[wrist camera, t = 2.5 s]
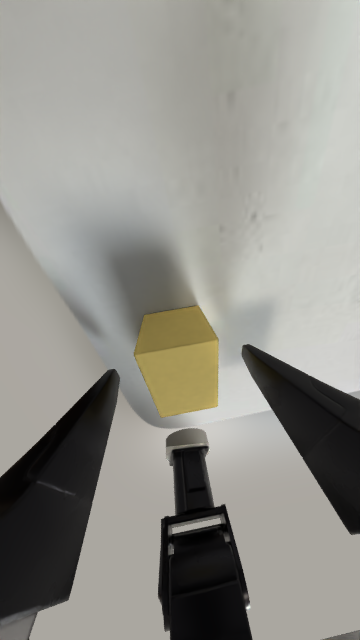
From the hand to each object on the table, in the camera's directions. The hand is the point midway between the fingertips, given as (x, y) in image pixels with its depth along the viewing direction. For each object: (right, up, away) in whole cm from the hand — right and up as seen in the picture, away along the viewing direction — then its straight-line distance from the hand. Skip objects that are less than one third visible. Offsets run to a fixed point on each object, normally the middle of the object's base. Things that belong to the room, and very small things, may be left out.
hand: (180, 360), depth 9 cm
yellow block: (0, +1, +2) cm, 2 cm away
